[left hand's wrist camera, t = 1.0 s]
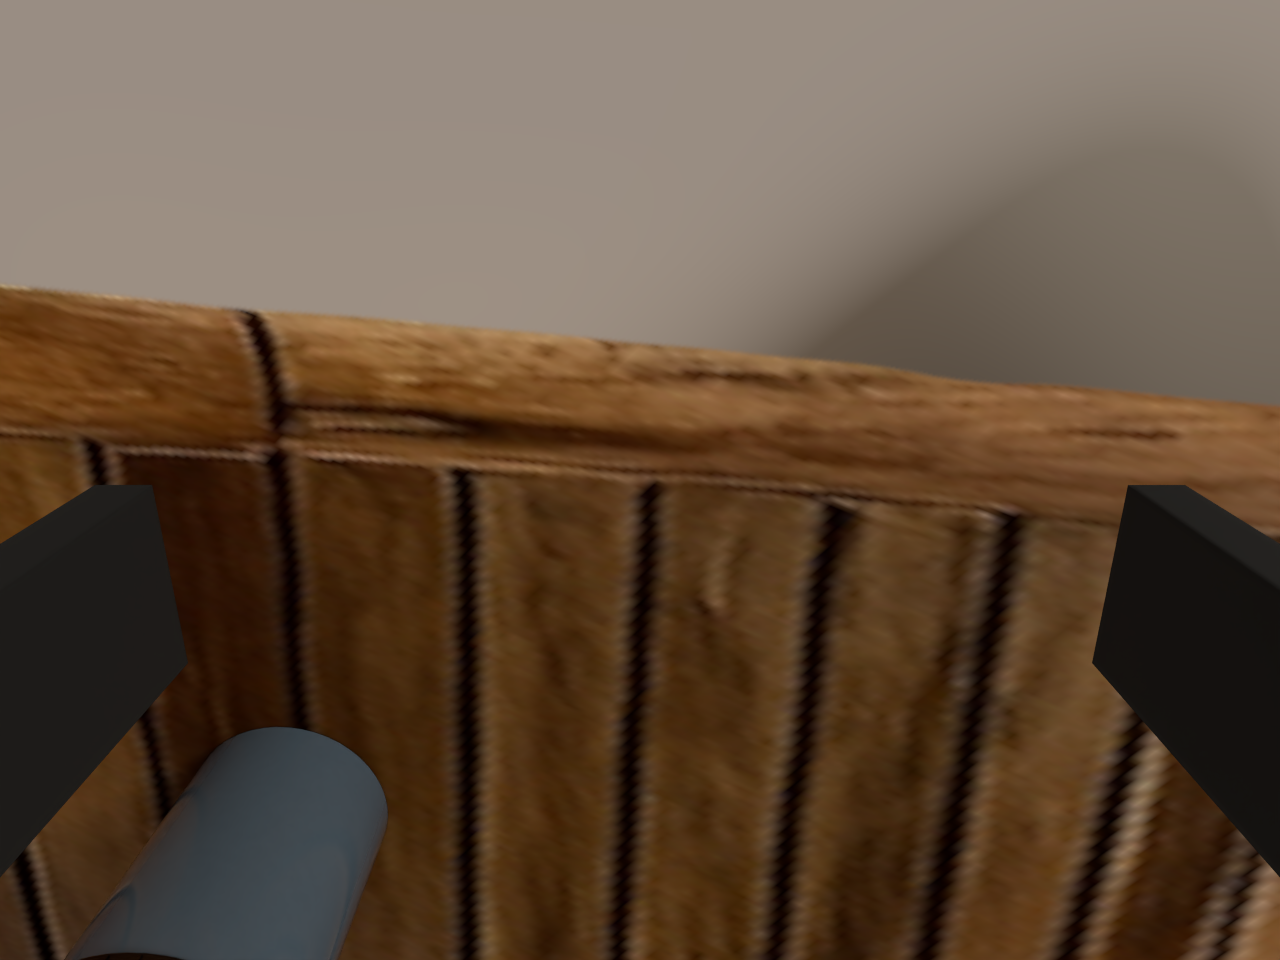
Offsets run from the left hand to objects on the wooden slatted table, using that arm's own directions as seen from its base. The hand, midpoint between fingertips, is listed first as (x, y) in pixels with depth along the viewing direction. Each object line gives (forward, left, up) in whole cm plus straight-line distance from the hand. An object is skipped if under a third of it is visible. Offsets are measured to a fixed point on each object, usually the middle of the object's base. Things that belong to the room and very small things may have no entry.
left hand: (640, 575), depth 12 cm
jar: (-28, +19, -28) cm, 44 cm away
